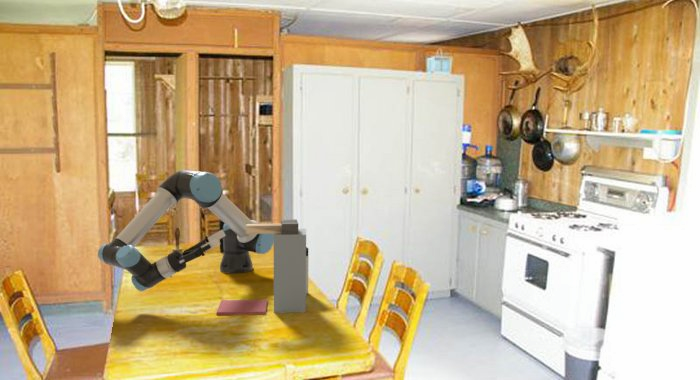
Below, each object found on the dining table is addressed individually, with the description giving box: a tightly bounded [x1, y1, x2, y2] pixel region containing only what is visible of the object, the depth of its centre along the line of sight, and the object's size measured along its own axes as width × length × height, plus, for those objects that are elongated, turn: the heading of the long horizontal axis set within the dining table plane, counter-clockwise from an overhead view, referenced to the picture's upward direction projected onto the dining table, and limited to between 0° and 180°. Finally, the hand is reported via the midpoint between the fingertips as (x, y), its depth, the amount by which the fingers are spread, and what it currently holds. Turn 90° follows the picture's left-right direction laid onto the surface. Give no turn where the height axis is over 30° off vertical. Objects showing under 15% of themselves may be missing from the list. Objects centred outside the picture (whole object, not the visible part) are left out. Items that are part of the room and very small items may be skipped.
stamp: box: [246, 218, 299, 235], centre depth 215 cm, size 8×19×4 cm, turn 100°
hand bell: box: [172, 226, 184, 254], centre depth 285 cm, size 8×8×16 cm
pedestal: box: [273, 228, 307, 314], centre depth 219 cm, size 10×12×30 cm
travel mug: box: [306, 246, 309, 296], centre depth 236 cm, size 6×7×20 cm
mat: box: [215, 299, 268, 316], centre depth 220 cm, size 13×18×1 cm
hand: (221, 236), depth 216 cm, fingers open, 13 cm apart
